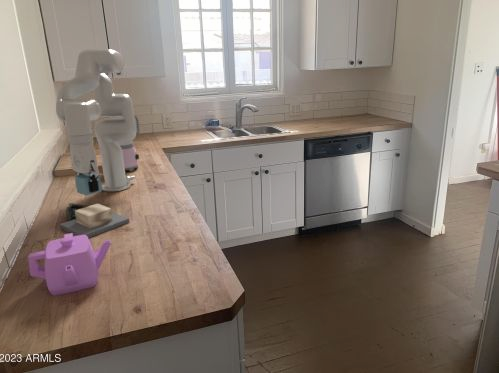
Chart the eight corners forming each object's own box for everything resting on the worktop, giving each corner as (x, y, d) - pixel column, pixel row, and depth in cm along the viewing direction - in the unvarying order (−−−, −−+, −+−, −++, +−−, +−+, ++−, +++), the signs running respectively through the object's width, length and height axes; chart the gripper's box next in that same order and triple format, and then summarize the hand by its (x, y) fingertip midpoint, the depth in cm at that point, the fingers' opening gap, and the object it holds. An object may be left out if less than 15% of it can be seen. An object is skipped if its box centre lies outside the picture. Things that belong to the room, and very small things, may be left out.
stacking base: (105, 212, 155) (103, 198, 153) (129, 222, 145) (127, 207, 143) (60, 227, 142) (57, 212, 140) (83, 239, 132) (80, 223, 130)
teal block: (93, 187, 143) (90, 172, 141) (102, 190, 139) (99, 174, 137) (77, 192, 139) (74, 176, 137) (86, 195, 135) (83, 178, 133)
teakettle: (73, 260, 119) (65, 222, 115) (119, 269, 113) (113, 230, 109) (24, 291, 104) (14, 249, 100) (75, 303, 98) (66, 259, 94)
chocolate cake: (93, 210, 158) (66, 196, 151) (101, 210, 153) (74, 194, 146) (82, 232, 154) (53, 218, 147) (90, 232, 149) (61, 217, 142)
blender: (111, 172, 208) (102, 111, 197) (118, 166, 219) (110, 108, 209) (140, 172, 207) (133, 111, 197) (147, 165, 219) (140, 107, 209)
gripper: (58, 138, 136) (67, 188, 141) (83, 144, 125) (92, 197, 131) (79, 135, 141) (86, 182, 147) (105, 140, 131) (112, 191, 136)
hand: (89, 189), depth 139 cm, fingers closed on teal block, 6 cm apart
